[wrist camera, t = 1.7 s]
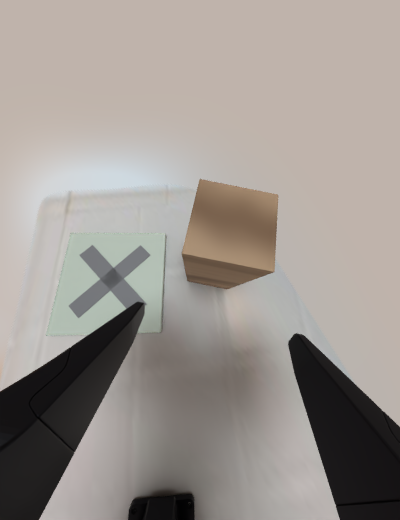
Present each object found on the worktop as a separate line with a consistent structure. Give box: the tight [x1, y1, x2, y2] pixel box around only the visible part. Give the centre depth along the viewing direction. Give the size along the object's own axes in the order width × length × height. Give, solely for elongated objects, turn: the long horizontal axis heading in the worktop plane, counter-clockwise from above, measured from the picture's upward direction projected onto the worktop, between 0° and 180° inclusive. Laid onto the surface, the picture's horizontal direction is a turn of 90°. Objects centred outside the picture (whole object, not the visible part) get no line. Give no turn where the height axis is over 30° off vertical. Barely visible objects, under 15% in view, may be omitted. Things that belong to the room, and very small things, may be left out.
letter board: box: [46, 233, 166, 336], centre depth 21 cm, size 14×14×1 cm
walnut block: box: [182, 179, 278, 289], centre depth 16 cm, size 6×6×13 cm
